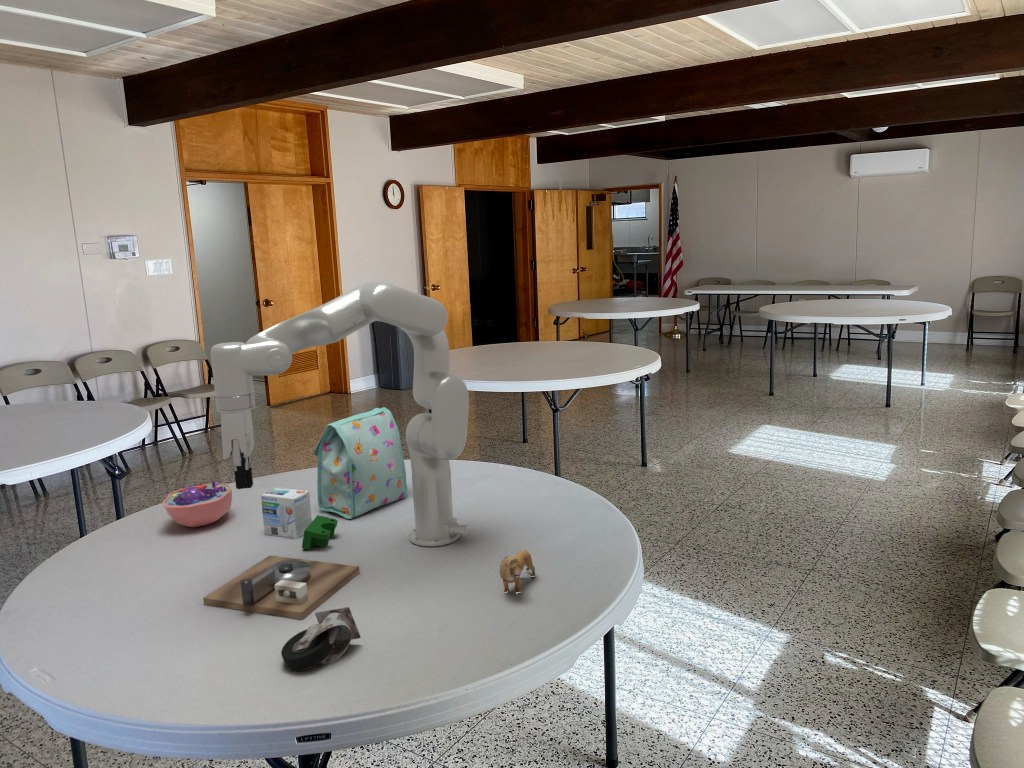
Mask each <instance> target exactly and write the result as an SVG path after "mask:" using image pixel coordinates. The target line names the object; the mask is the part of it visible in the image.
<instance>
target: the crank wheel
mask: <svg viewBox="0 0 1024 768" xmlns="http://www.w3.org/2000/svg"><path fill="white" fill-rule="evenodd" d="M310 576H311V574H310V566H309V564H308V563H306V562H304V561H297V560H292V561H284V562H279V563H276V564H273V565H271V566H269V567H267V568H266V569H264V570H263V572H262V574H261V575H260V576H258V577H257V578H255V579H254V580H252V579H250V578H247V579H243V580H241V581H240V584H241V593H242V602H243V606H245V607H247V606H251V605H253V604H254V602H256V601H257V600H258V599H260V598H261V597H263V596H264V595H266V594H267V593H268V592H270V591H271V590H273V589H275V584H276V583H278V582H279V581H281V580H287V581H295V582H302V583H305V582H306V581H307V580H309V578H310Z"/></svg>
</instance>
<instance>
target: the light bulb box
mask: <svg viewBox="0 0 1024 768" xmlns="http://www.w3.org/2000/svg"><path fill="white" fill-rule="evenodd" d="M260 497H261V499H260V500H261V507H262V508H261V510H262V512H261V513H262V521H263V533H264V535H270V536H277V537H283V538H289V539H296V540H297V539H300V538H301V537H303V536H304V530H305V529H306V528H307V527H308V526H309V525H310V523H311V522H312V521H313V520H312V509H311V497H310V491H309V490H303V489H296V488H295V489H294V488H285V487H275V488H272V489H271V490H269V491H267V492H264V493H263V494H261V495H260Z"/></svg>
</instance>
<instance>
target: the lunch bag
mask: <svg viewBox="0 0 1024 768" xmlns="http://www.w3.org/2000/svg"><path fill="white" fill-rule="evenodd" d="M402 447H403V446H402V441H401V435H400V431H399V427H398V425H397V423H396V421H395V418H394V416H393V414H392V411H390V410H389V409H388V408H386V407H385V406H383V407H381V408H379V407H375V408H373V409H372V410H370V411H366V412H362V413H358V414H355V415H352V416H349V417H346V418H343V419H339V420H337V421H334V422H332V423H328V424H327V425H326V427H325V428H324V431H323V433H322V435H321V437H320V438H319V440H318V442H317V444H316V446H315V449H314V450H313V453H314V454H313V455H314V456H316V457H317V472H316V473H317V475H316V476H317V480H316V481H317V483H316V486H317V489H316V491H317V505H318V508H319V510H321V511H323V512H331V513H335V514H337V515H340V516H341V517H343V518H345V519H347V520H348V519H349V520H351V519H353V518H356V517H359V516H361V515H363V514H365V513H367V512H369V511H372V510H374V509H376V508H379V507H382V506H384V505H388V504H390V503H391V504H392V503H393V502H395V501H399V500H403V499H406V498H407V496H408V488H407V486H408V485H407V484H408V483H407V472H406V471H407V470H406V465H405V459H404V452H403V448H402Z"/></svg>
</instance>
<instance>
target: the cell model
mask: <svg viewBox="0 0 1024 768" xmlns="http://www.w3.org/2000/svg"><path fill="white" fill-rule="evenodd" d="M232 489H233V488H232V487H231V485H230V484H229V483H225V482H224V483H222V482H221V483H220V482H218V481H216V482H215V481H214V482H210V483H203V484H199V485H193V486H187V487H183V488H180V489H177V490H174V491H171V492H169V493H168V495H167V497H166V498H165V499H164V500H163V501H162V503H161V504H162V506H163V509H165V512H166V514H167V516H169V517H170V518H171V519H172V520H173V521H175V522H176V523H177V524H179V525H181V526H185V527H188V528H198V527H203V526H207V525H210V524H213V523H215V522H217V521H218V520H220V519H221V518H222V517H223V516H224V515H225V514H226V513H228V512H229V510H230V509H231V506H232V501H233V493H232V492H233V490H232Z"/></svg>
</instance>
